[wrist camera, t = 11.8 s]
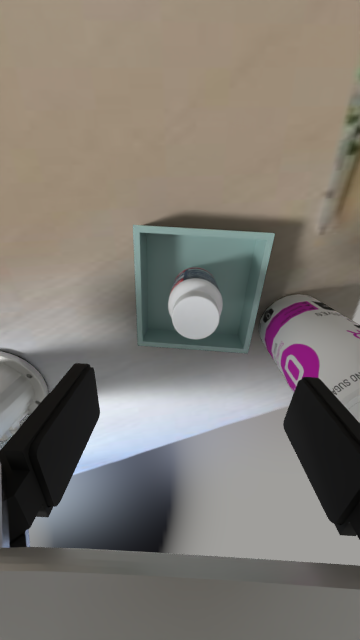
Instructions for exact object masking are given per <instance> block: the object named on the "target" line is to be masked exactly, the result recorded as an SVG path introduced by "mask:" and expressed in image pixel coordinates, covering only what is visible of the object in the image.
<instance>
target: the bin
mask: <svg viewBox="0 0 360 640" xmlns="http://www.w3.org/2000/svg"><path fill="white" fill-rule="evenodd" d="M274 236H275V233H266V232H251V231H233V230H216V229H199V228H181V227H164V226H147V225H133V238H134V263H135V289H136V314H137V339H138V346H151V347H165V348H179V349H193V350H207V351H220V352H234V353H248V350H249V346H250V342H251V337H252V333H253V328H254V324H255V320H256V315H257V311H258V306H259V302H260V298H261V293H262V289H263V284H264V280H265V275H266V271H267V267H268V262H269V258H270V253H271V249H272V245H273V240H274ZM191 267H199V268H203V269H205V270H207V271H208V272H210V273H211V274H212V276H213V277H214V279H215V281H216V283H217V286H218V288H219V291H220V293H221V296H222V301H223V307H222V312H221V315H220V320H219V324H218V326H217V328H216V330H215V331H214V332H213V333H212V334H211V335H209V336H207V337H205V338H202V339H189V338H186V337H184V336H182V335H181V334H179V333H178V332H177V330H176V329H175V328H174V325H173V323H172V318H171V316H170V314H169V310H168V301H169V296H170V293H171V290H172V287H173V283H174V281H175V279H176V277H177V276H178V274H179V273H180V272H182V271H183V270H185V269H187V268H191Z"/></svg>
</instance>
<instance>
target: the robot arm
mask: <svg viewBox="0 0 360 640" xmlns="http://www.w3.org/2000/svg"><path fill="white" fill-rule="evenodd" d="M28 414H31V415H30V416H29V417H28V418H27V420H26V421H25V422H24V423H23V424H22V426H21V424H20V421H21V420H22V419H23V418H24V417H25V416H26V415H28ZM99 414H100V409H99V402H98V395H97V388H96V381H95V374H94V369H93V368H92V367H90V365H89V364H80V363H76V364H74V365H73V366H72V367H71V369H70V370H69V371H68V372H67V373H66V375H65V376H64V377H63V378H62V379H61V381H60V382H59V383H58V384H57V386H56V387H55V388H54V389H53V390H52V392H51V393H49V394H48V389H47V385H46V383H45V381H44V379H43V377H42V376H41V374H40V373H39V372H38V371H37V370H36V369H35V368H34V367H33V366H32V365H31V364H29V363H28V362H27V361H25V360H23V359H21V358H20V357H17V356H15V355H13V354H10V353H6V352H1V351H0V441H5V440H7V439H8V438H10V437H11V435H12V434H13V436H12V438H11V439H10V440H9V441H8V442H7V443H6V445H5V446H4V447H3V448H2V449H1V451H0V640H360V566H355V565H340V564H326V563H311V562H296V561H281V560H266V559H250V558H234V557H218V556H201V555H184V554H169V553H168V554H167V553H151V552H132V551H114V550H95V549H74V548H44V547H30V538H29V528H30V527H31V525H32V523H33V521H34V519H35V517H36V516H37V517H49V515H50V512H51V510H52V508H53V506H57V505H58V504H59V502H60V501H61V499H62V496H63V494H64V492H65V490H66V488H67V486H68V484H69V481H70V479H71V477H72V475H73V473H74V471H75V468H76V466H77V464H78V462H79V460H80V458H81V455H82V453H83V451H84V449H85V447H86V445H87V442H88V440H89V438H90V436H91V434H92V432H93V429H94V427H95V425H96V423H97V421H98V418H99ZM284 429H285V432H286V434H287V436H288V438H289V440H290V442H291V444H292V446H293V448H294V450H295V452H296V454H297V456H298V458H299V460H300V462H301V464H302V466H303V468H304V470H305V472H306V474H307V477H308V479H309V481H310V483H311V485H312V487H313V489H314V491H315V493H316V495H317V497H318V499H319V501H320V503H321V505H322V507H323V509H324V511H325V513H326V515H327V517H328V519H329V520H330V521H331V522H332V523H334V524H335V526H336V528H337V530H338V532H339V534H340V535H347V536H356V535H358V538H359V539H360V423H359V422H358V421H357V420H356V418H355V417H354V416H353V415H352V414H351V413H350V412H349V411H348V409H347V408H346V407H345V406H344V405H343V404H342V403H341V402H340V401H339V399H338V398H337V397H336V396H335V395H334V394H333V393H332V392H331V391H330V389H329V388H328V387H327V386H326V385H325V384H324V383H323V382H322V381H321V380H320V379H319V378H316V377H303V378H302V379H301V380H299V381H298V383H297V386H296V389H295V391H294V394H293V397H292V400H291V403H290V405H289V408H288V411H287V414H286V417H285V420H284Z"/></svg>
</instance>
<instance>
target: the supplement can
mask: <svg viewBox="0 0 360 640" xmlns="http://www.w3.org/2000/svg"><path fill="white" fill-rule="evenodd" d="M259 334H260V337H261V340H262V342H263V343H264V345H265V347H266V348H267V350H268V352H269V353H270V355H271V356H272V358H273V360H274V361H275V363H276V365H277V366H278V368H279V369H280V371H281V373H282V374H283V376H284V378H285V379H286V381H287V383H288V384H289V386H290V387H291V389H292V391H293V392H294V391H295V389H296V386H297V383H298V381H299V380H301V379H302V378H303V377H316V378H319V379H320V380H321V381H322V382H323V383H324V384H325V385H326V386H327V387H328V388H329V389H330V391H331V392H332V393H333V394H334V395H335V396H336V397H337V398H338V399H339V401H340V402H341V403H342V404H343V405H344V406H345V407H346V408H347V409H348V411H349V412H350V413H351V414H352V415H353V416H354V417H355V418H356V420H357V421H358V422H359V423H360V325H359V324H357V323H355V322H354V321H352V320H350V319H349V318H347V317H345V316H344V315H342V314H340V313H339V312H337V311H335V310H333V309H332V308H330V307H328V306H327V305H325V304H323V303H322V302H320V301H318V300H316V299H315V298H313V297H311V296H307V295H301V294H296V295H290V296H286V297H284V298H282V299H280V300H277V301H275V302H274V303H273V304H272V305H271V306H270V307H269V308H268V309H266V310H265V312H264V314H263V316H262V318H261V319H260V324H259Z"/></svg>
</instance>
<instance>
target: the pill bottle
mask: <svg viewBox="0 0 360 640" xmlns="http://www.w3.org/2000/svg"><path fill="white" fill-rule="evenodd" d="M222 307H223V301H222V296H221V293H220V291H219V288H218V286H217V283H216V281H215V279H214V277H213V276H212V274H211V273H210V272H208V271H207V270H205V269H203V268H199V267H191V268H187V269H185V270H183V271H182V272H180V273H179V274H178V276H177V277H176V279H175V281H174V283H173V287H172V290H171V293H170V296H169V301H168V310H169V314H170V316H171V318H172V323H173V325H174V328H175V329H176V330H177V332H178V333H179V334H181V335H182V336H184V337H186V338H189V339H202V338H205V337H207V336H209V335H211V334H212V333H213V332H214V331H215V330H216V328H217V326H218V324H219V320H220V315H221V312H222Z"/></svg>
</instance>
